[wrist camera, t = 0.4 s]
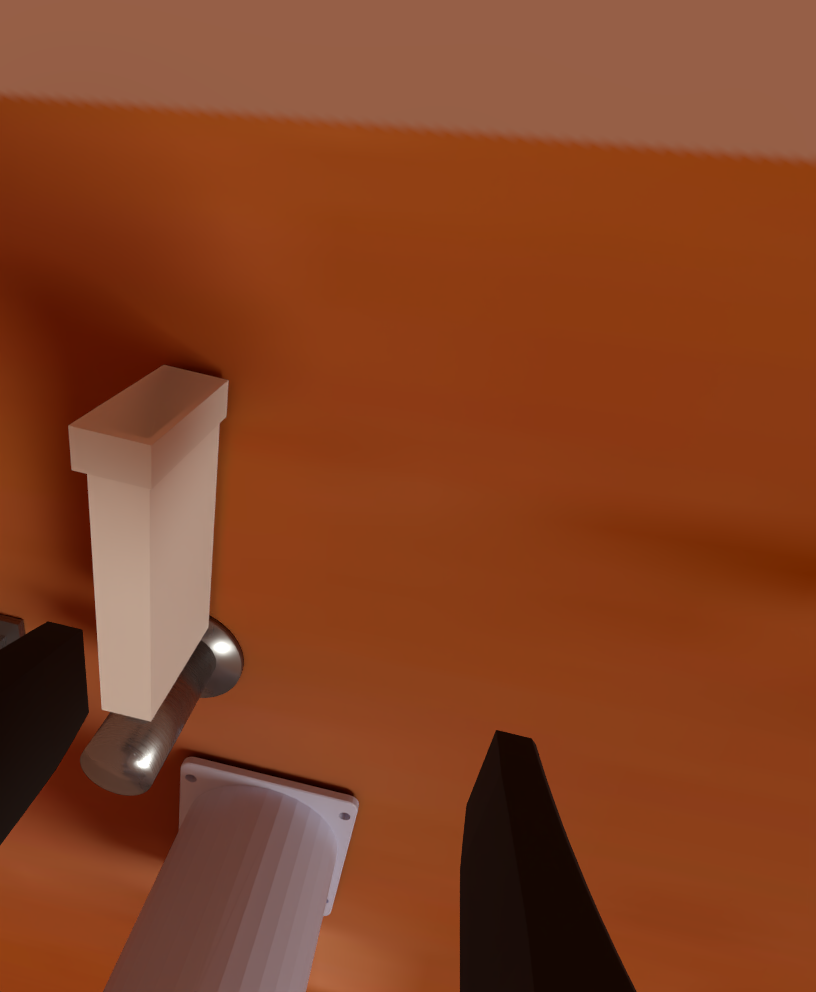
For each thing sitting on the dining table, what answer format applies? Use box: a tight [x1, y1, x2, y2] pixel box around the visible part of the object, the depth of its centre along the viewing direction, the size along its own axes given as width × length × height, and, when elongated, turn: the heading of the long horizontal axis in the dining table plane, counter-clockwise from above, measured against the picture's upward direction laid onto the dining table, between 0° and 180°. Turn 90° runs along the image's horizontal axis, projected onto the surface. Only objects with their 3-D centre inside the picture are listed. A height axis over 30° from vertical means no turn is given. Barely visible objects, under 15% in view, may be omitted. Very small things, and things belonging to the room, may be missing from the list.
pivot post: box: [80, 616, 244, 795], centre depth 22 cm, size 4×4×6 cm
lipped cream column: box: [68, 365, 229, 722], centre depth 19 cm, size 10×2×5 cm, turn 168°
